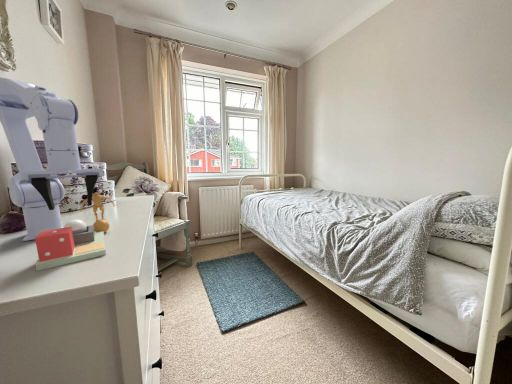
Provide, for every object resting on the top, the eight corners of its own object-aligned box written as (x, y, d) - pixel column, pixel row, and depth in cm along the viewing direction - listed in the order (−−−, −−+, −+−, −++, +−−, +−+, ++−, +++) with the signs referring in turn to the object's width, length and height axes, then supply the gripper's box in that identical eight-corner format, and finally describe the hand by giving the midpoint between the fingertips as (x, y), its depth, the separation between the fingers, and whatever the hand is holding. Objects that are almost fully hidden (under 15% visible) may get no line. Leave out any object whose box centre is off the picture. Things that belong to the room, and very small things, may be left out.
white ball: (66, 236, 53) (63, 219, 52) (88, 232, 55) (85, 216, 55) (63, 241, 49) (60, 223, 49) (87, 237, 52) (84, 220, 51)
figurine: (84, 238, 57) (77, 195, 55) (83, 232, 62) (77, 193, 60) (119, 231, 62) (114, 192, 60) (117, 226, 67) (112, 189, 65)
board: (50, 245, 53) (50, 240, 52) (104, 235, 59) (103, 230, 59) (36, 270, 40) (35, 264, 40) (105, 254, 47) (105, 249, 47)
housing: (60, 239, 53) (59, 230, 53) (94, 233, 57) (93, 225, 57) (56, 248, 48) (54, 238, 47) (94, 241, 52) (93, 231, 51)
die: (44, 252, 45) (40, 230, 44) (74, 246, 48) (71, 225, 47) (39, 262, 41) (34, 237, 40) (72, 255, 44) (68, 231, 43)
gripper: (11, 150, 41) (24, 215, 44) (100, 150, 50) (108, 205, 52) (21, 151, 47) (32, 209, 49) (100, 151, 56) (107, 201, 58)
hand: (71, 207), depth 51 cm, fingers open, 6 cm apart
